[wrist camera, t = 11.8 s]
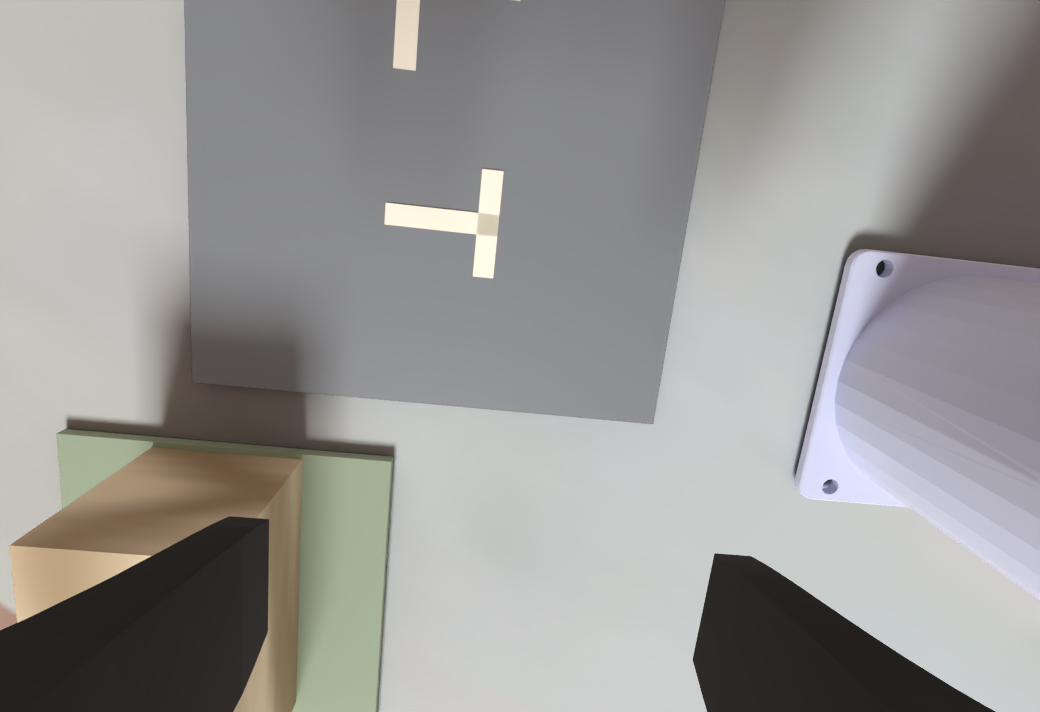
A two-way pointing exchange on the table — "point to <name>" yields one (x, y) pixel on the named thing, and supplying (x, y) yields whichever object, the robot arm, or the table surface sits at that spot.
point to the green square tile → (323, 554)
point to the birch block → (165, 521)
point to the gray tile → (443, 196)
